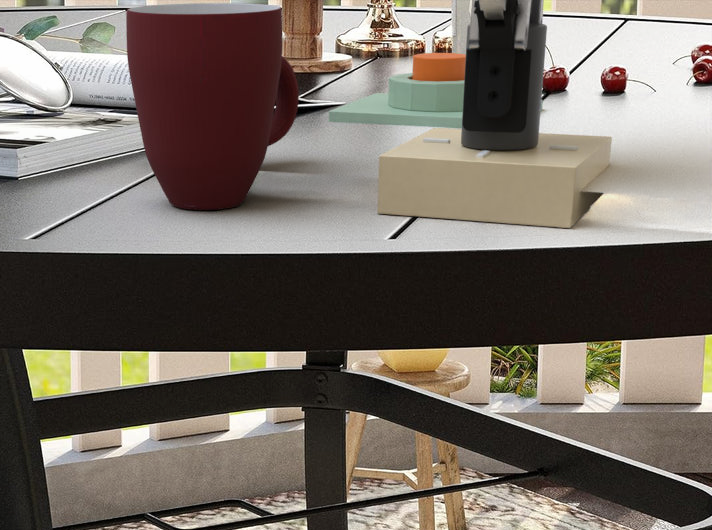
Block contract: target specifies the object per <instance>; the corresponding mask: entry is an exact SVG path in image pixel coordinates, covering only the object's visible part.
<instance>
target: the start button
mask: <svg viewBox="0 0 712 530" xmlns="http://www.w3.org/2000/svg"><path fill="white" fill-rule="evenodd" d="M465 60H466V54H464V53H455V52H427V53H425V52H424V53H416V54H413V55H412V72H411V73H412V80H419V81H461V80H464V78H465Z"/></svg>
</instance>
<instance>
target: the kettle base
mask: <svg viewBox="0 0 712 530" xmlns="http://www.w3.org/2000/svg"><path fill="white" fill-rule="evenodd" d="M463 96H464V80H461V81H419V80H412V72H409V73H398V74H394V75H392V76H389V77H388V92H375V93H373V94H370V95H368V96H365V97H363V98H360V99H357V100H355V101H352V102H349V103H347V104H345V105H344V104H343V105H342V106H339V107H336V108H334V109H331V110H329V111H328V122H329V123H330V122H331V123H346V124H347V123H351V124H366V125H367V124H368V125H369V124H371V125H388V126H389V125H390V126H409V127H410V126H411V127H426V128H449V129H462V114H463ZM543 104H544V100H543V99H541V111H542V110H543Z"/></svg>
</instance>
